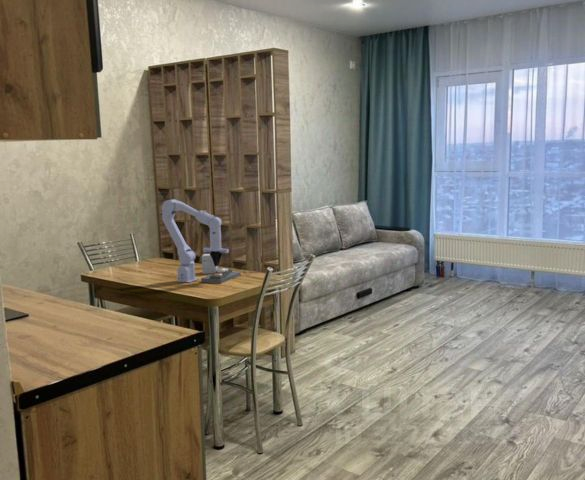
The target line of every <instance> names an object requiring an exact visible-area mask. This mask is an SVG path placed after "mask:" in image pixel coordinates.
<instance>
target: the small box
mask: <svg viewBox="0 0 585 480" xmlns="http://www.w3.org/2000/svg"><path fill="white" fill-rule="evenodd" d="M201 265H202V267H201V268H202V275H203V274H208V275H212V273H215V272H216V271H217V269H219V266H214V262H213V259H212V257H211V256H210V253H204V254H202V255H201Z"/></svg>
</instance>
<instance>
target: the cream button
mask: <svg viewBox="0 0 585 480" xmlns="http://www.w3.org/2000/svg"><path fill="white" fill-rule="evenodd" d="M217 273H225V269H224V267H223V268H219V267H218V269H217Z"/></svg>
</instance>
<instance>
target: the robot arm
mask: <svg viewBox="0 0 585 480" xmlns="http://www.w3.org/2000/svg"><path fill="white" fill-rule="evenodd" d="M160 208H161V216H162V217H161V219H162V222H163V223H164V226H165V228H166V229H167V231H168V234H169V236H170V238H171V239H172V241H173V242H174V244H175V248H176V249H177V255H178V260H179V262H180V266H178V268H177V270H176V271H177V280H176V282H178V283H191V282H194V281H197V280H199V277H196V268H195V267H196V266H195V260H196V257H197V256H196V252H195V251H193V250H192V248H191V247H190V246H189V245H188V244H187V242H186V241H185V239H184V237H183V235H182V232H181V231H180V229H179V227H178V225H177V223H176V221H175V219H174V217H175V215H176V213H177V212H179V211H180V212H181V211H182V212H185V213H187V214H189V215H190V216H193V217H195V218H196V220H197V221H199V223H202V224H204V225H206V226H208V228H209V242H210V245H209V247H203V250H202V251H203V253H205V252H206V253H209V254H210V256H211V257H212V259H213V262H214V266H218V267H219V265H220V262H221V261H220V260H221V258H222V256H223V254H229V252H230V249H229V248H222V230H221V226H222V223H223V222H222V219H221V218H220V217H219V216H215V215H214V214H210V213H208V212H207V210H206V209H205V210H197V209H196V208H193V207H192V206H190V205H188V204H187V203H185V202H182V201H181V200H177V199H176V198H173V199H172V198H171V199H167V200H165V201H163V203H162V205H161V207H160Z"/></svg>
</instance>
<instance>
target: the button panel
mask: <svg viewBox="0 0 585 480" xmlns="http://www.w3.org/2000/svg"><path fill="white" fill-rule="evenodd" d="M227 269H228V271H225V273H221V274H222V276H214V274H216V273H217V271H216V272H215V273H213V274H208V275H207V276H204V277H200V280H201V281H200V282H201V283H208V282H209V283H210V284H223V282H224V283H226V282H229V281H231V280H234V279H236V278H239V277H240V276H241V275H242V273H241V271H233V269H230V268H227ZM238 276H239V277H238ZM235 277H236V278H235ZM233 278H234V279H233ZM230 279H231V280H230ZM228 280H229V281H228ZM225 281H226V282H225ZM209 283H208V284H209Z"/></svg>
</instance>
